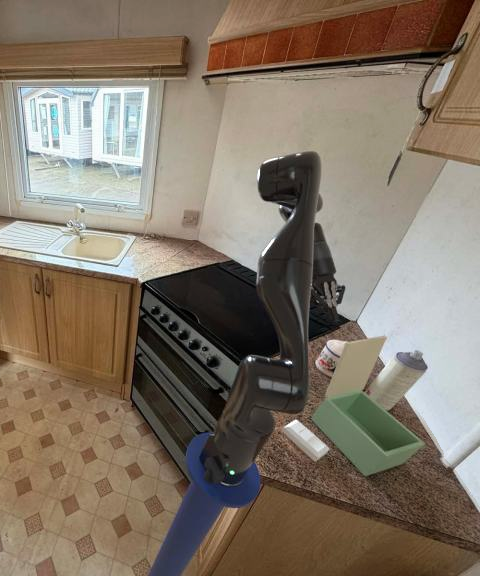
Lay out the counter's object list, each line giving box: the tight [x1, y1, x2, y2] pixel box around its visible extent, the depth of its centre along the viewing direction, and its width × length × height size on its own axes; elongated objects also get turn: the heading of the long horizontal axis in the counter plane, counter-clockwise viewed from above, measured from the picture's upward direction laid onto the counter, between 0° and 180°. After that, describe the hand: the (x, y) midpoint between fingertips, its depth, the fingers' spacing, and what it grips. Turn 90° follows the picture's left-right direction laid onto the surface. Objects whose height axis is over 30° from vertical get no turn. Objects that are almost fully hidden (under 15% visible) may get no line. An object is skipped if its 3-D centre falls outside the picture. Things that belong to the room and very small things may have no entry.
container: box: [310, 390, 426, 477], centre depth 78 cm, size 16×13×9 cm
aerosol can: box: [363, 349, 429, 412], centre depth 86 cm, size 7×7×20 cm
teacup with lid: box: [315, 339, 348, 378], centre depth 97 cm, size 12×9×12 cm
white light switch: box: [281, 419, 330, 463], centre depth 78 cm, size 5×9×3 cm, turn 28°
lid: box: [324, 335, 388, 398], centre depth 78 cm, size 16×13×1 cm
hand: (333, 321), depth 83 cm, fingers closed
